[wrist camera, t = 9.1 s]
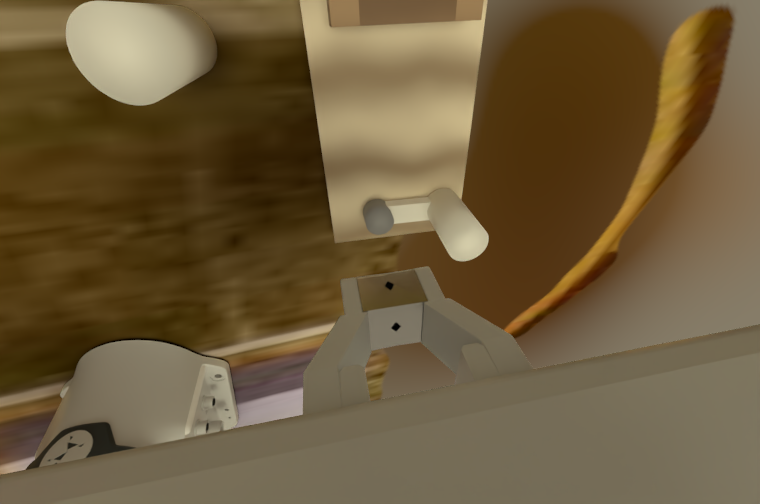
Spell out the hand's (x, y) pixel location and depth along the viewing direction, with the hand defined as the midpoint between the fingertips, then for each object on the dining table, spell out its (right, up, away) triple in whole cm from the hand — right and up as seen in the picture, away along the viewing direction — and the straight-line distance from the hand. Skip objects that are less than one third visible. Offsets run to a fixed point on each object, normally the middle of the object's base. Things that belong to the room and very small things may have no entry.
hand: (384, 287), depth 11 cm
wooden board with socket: (+1, +15, +14) cm, 20 cm away
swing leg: (+3, +5, +18) cm, 19 cm away
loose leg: (-13, +15, +10) cm, 23 cm away
